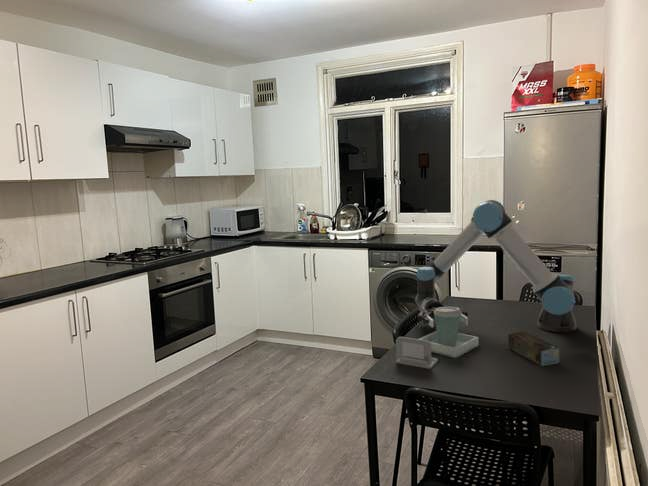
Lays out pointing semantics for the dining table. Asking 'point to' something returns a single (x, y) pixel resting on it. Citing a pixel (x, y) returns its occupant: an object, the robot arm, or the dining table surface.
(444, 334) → the disposable coffee cup
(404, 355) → the handheld gaming console
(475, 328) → the dining table surface
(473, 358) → the dining table surface
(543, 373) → the dining table surface
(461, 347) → the sage tray
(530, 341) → the beverage carton
